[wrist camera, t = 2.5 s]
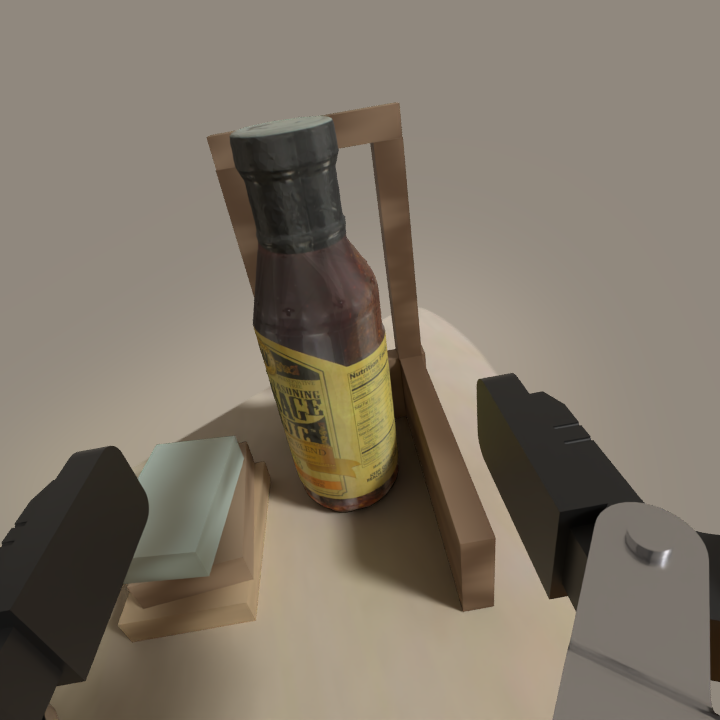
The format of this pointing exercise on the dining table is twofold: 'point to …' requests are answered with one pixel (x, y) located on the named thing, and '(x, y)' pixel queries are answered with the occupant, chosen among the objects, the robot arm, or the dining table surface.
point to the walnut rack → (397, 343)
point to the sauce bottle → (318, 315)
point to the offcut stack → (198, 539)
